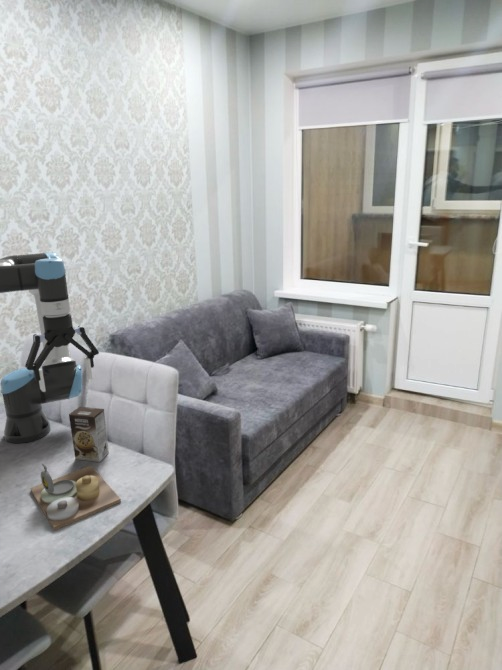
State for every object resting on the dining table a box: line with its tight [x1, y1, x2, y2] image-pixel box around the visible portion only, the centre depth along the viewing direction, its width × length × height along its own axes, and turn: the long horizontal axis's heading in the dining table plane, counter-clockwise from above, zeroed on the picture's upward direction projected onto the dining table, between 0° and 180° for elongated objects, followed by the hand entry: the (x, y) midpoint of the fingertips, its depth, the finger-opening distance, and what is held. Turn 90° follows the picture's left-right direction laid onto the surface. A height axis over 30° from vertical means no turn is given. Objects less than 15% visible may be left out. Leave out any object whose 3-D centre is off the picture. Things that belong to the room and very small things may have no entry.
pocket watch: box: [40, 463, 74, 495], centre depth 133 cm, size 8×8×10 cm
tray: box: [30, 465, 122, 531], centre depth 134 cm, size 22×18×6 cm
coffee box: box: [68, 406, 110, 463], centre depth 153 cm, size 9×6×16 cm
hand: (67, 384), depth 140 cm, fingers open, 13 cm apart
